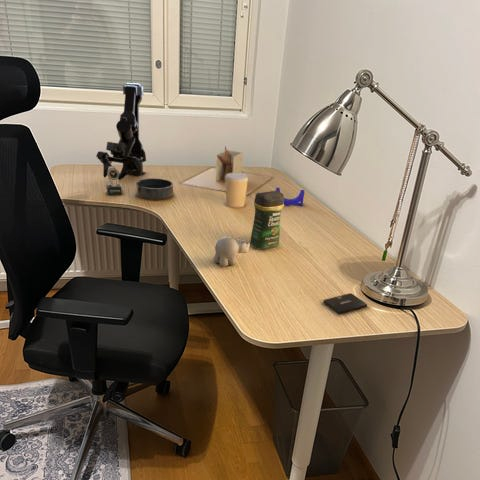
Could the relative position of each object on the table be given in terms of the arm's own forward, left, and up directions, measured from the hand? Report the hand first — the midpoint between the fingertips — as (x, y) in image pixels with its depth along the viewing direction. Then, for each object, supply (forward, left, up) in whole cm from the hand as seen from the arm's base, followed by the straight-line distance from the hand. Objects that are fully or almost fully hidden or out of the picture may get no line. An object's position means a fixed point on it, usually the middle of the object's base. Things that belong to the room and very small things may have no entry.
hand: (111, 178), depth 191 cm
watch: (-1, 0, -7) cm, 7 cm away
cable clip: (-37, +65, -7) cm, 75 cm away
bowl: (-11, +14, -7) cm, 19 cm away
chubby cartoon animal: (+29, +73, -7) cm, 79 cm away
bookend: (-52, +27, -7) cm, 59 cm away
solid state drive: (+35, +112, -7) cm, 118 cm away
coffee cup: (-22, +47, -7) cm, 52 cm away
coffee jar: (+10, +76, -7) cm, 77 cm away
